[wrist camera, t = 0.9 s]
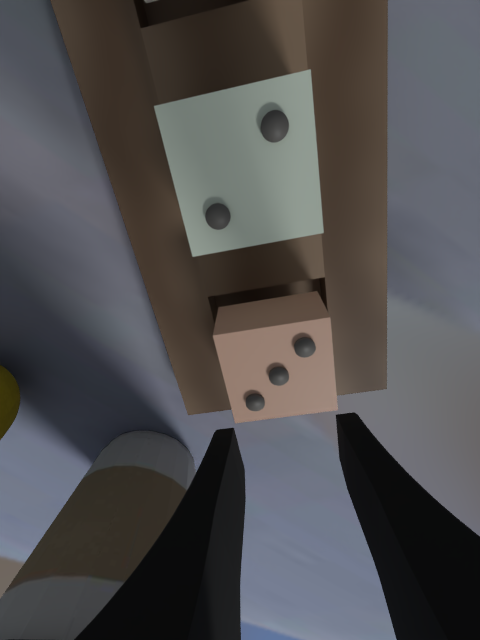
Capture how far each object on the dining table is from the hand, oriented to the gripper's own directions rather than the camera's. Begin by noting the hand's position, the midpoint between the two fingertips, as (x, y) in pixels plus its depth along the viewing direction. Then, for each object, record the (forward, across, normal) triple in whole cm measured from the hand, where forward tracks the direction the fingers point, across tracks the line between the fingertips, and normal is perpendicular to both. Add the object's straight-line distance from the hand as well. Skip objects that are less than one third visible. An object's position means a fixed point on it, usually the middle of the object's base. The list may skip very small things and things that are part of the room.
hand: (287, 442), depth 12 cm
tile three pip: (+7, 0, 0) cm, 7 cm away
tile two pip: (+7, 0, -9) cm, 11 cm away
